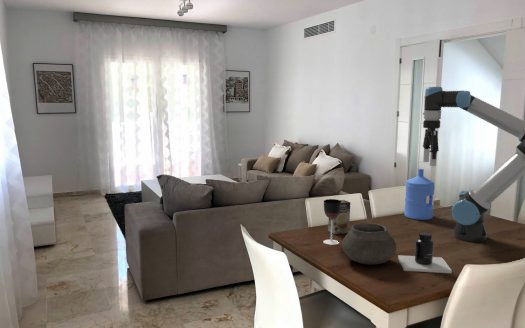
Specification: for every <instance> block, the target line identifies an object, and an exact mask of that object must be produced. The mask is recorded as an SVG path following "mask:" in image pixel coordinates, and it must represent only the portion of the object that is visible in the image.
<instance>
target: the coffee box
mask: <svg viewBox="0 0 525 328" xmlns="http://www.w3.org/2000/svg"><path fill="white" fill-rule="evenodd" d="M340 201H341V208H340V213H339V215H338V216H337V217H336V218H334V219H333V227H332V233H333V234H332V235H339V234H340V233H341V234H348V233H349V232H350V224H351V223H350V222H351V219H350V218H351V202H350V201H348V200H346V199H343V200H342V199H341V200H340ZM327 222H328V225H327V232H329V233H331V219H330V218H328V221H327ZM341 234H340V235H341Z"/></svg>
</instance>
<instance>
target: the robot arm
mask: <svg viewBox="0 0 525 328" xmlns="http://www.w3.org/2000/svg"><path fill="white" fill-rule="evenodd" d="M424 91H425V92H424V103H423V105H424V109H423V112H422V115H423V119H424V120H422V121H423V124H422V125H423V126H422V127H423V129H425V130H424V137H423V144H422V148H423V159H422V162H423V163H429V167H437V157H438V152H439V151H440V149H439V138H438V134H439V131H438V130H436V129H440V128H441V119H442V118H441V117H442V108H459V109H461V110H463V111H465V112H467V113H469V114H472V115H474V116H475V117H477V118H480V120H483V121H485V122H487V123H489V124H491V125H493V126H494V127H496V128H497V129H501V130H502V131H504V132H506V133H507V134H510V135H512V136H514V137H515V138H518V141H519V142H520V143H519V144H518V145H516V147H515V149H516V150H515V153H514V154H513V155H511V156H510V157H509V158H508V159H507V160H506V161H505V162H504V163H502V164H501V166H499V168H497V169H496V170H495V171H494V172H493V173H492V174H491V175H489V177H487V178H486V179H485V180H484V181H483V182H482V183H481V184H480V185H478V186H477V188H475V189H474V190H473V189H472V190H471V189H470V190H461V191H459V194H458V200H457V201H456V202H455V203H453V205H452V207H451V215H452V218H453V219H454V220H455V221H456V223H455V225H454V227H453V229H452V230H453V231H452V236H453V237H454V238H456V239H458V240H462V241H467V242H475V243H477V242H478V243H479V242H484V241H487V239H488V233H487V229H486V227H485V226H486V225H485V215H486V214H485V213H487V212H488V211H489V210H490V209H491V203H492V202H494V201H495V200H496V199H497V198H498V197H499V196H501V195H502V194H503V193H504V192H505V191H506V190H507V189H509V188H510V187H511V186H512V185H513V184H514V183H516V182H517V180H519V179H520V178H521V177H523V175H524V174H525V120H523V119H520V118H519V117H517V116H514V115H513V114H510V113H508V112H507V111H504V110H503V109H500V108H498V107H496V106H494V105H493V104H491V103H488V102H486V101H484V100H482V99H480V98H478V97H475V96H474V95H472V94H471V91H470V90H443V87H442V86H428V87H426V88H425V90H424Z"/></svg>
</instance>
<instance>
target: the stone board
mask: <svg viewBox="0 0 525 328" xmlns="http://www.w3.org/2000/svg"><path fill="white" fill-rule="evenodd" d="M397 259H398V261H399V264H400V265H401V268H402V270H403V271H405V272H421V273H422V272H424V273H425V272H426V273H441V274H452V273H453V271H452V269H451V268H450V266H449V264H447V262H446V261H445V259H443V257H439V256H437V257H436V256H433V260H432V264H430V265H423V264H419V263H417V262H415V255H399V254H397Z"/></svg>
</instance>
